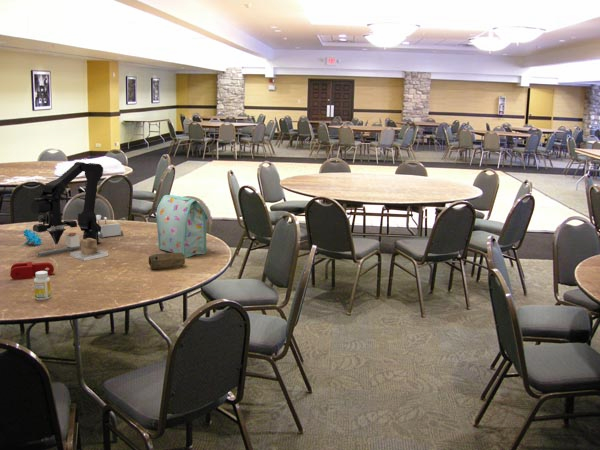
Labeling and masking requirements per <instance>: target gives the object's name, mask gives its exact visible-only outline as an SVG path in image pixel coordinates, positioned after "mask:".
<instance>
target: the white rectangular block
mask: <svg viewBox="0 0 600 450" xmlns="http://www.w3.org/2000/svg"><path fill="white" fill-rule="evenodd" d="M77 246H81V242H80V235H79V234H77V233H76V232H68V234H67V235H65V247H70V248H72V247H77Z"/></svg>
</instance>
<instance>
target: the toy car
mask: <svg viewBox="0 0 600 450" xmlns="http://www.w3.org/2000/svg"><path fill="white" fill-rule="evenodd" d="M95 215H96V222H98V223H97V224H100V221H101V220H102V219H101V218H102V215H101V214H95ZM103 220H104V223H105V224H100V226H101V231H100V232H98V236H99V239H104V238H105V237H112V236H120V237H123V236H124V231H123V230H122V227H121V225H122V224H121V223H120V222H119V223H118V222H117V223H110V224H109V223H108V224H107V220H108V217H106V216H105V217H103Z"/></svg>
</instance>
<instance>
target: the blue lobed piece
mask: <svg viewBox="0 0 600 450" xmlns="http://www.w3.org/2000/svg"><path fill="white" fill-rule="evenodd" d="M22 233H23V236H24V237H25V239H26V240H27V241H25V243H24V245H26V246H27V245H28V244H29V243H31V244H34V245H35V246H41V244H42V243H43V241H42V238H41V237H40V234H37V232H36V231H32V230H31V229H28V228H25V229H24V230H23V231H22Z"/></svg>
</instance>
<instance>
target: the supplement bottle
mask: <svg viewBox="0 0 600 450" xmlns="http://www.w3.org/2000/svg"><path fill="white" fill-rule="evenodd" d="M35 274H36V276H35V278H33V288H34V289H33V290H34V298H35V300H37V301H45V300H49V299H50V298H51V297H52V290H51V279H50V277H48V276H49V275H48V272H47V271H38V272H36V273H35Z"/></svg>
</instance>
